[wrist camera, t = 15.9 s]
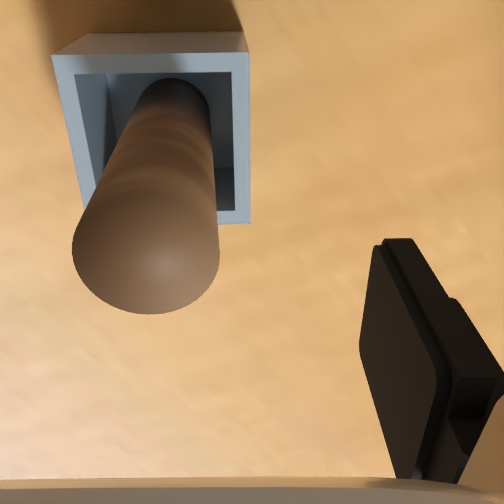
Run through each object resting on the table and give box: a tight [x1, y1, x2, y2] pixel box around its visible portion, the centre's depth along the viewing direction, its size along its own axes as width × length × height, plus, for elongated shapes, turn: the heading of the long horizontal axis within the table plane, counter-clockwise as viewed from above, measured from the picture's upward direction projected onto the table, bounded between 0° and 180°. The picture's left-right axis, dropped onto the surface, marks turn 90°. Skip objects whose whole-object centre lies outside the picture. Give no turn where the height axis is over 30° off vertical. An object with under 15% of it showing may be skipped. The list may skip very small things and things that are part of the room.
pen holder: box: [51, 31, 251, 225], centre depth 19 cm, size 6×6×5 cm
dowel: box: [72, 78, 220, 314], centre depth 16 cm, size 3×3×12 cm
